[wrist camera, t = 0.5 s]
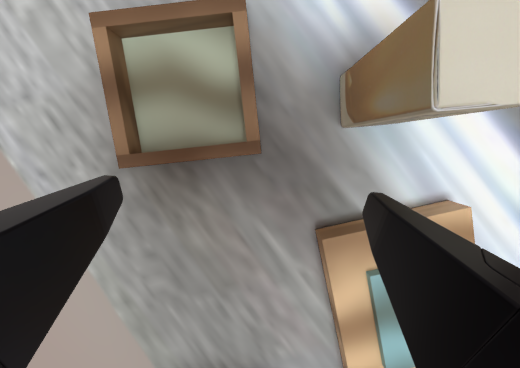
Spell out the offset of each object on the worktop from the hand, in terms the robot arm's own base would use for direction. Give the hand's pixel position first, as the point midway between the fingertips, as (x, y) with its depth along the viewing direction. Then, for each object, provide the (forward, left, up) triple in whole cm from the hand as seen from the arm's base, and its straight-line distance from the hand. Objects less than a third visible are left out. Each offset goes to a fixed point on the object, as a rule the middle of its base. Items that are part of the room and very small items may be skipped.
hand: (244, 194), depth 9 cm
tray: (+7, +4, -13) cm, 15 cm away
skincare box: (+3, -11, -13) cm, 18 cm away
